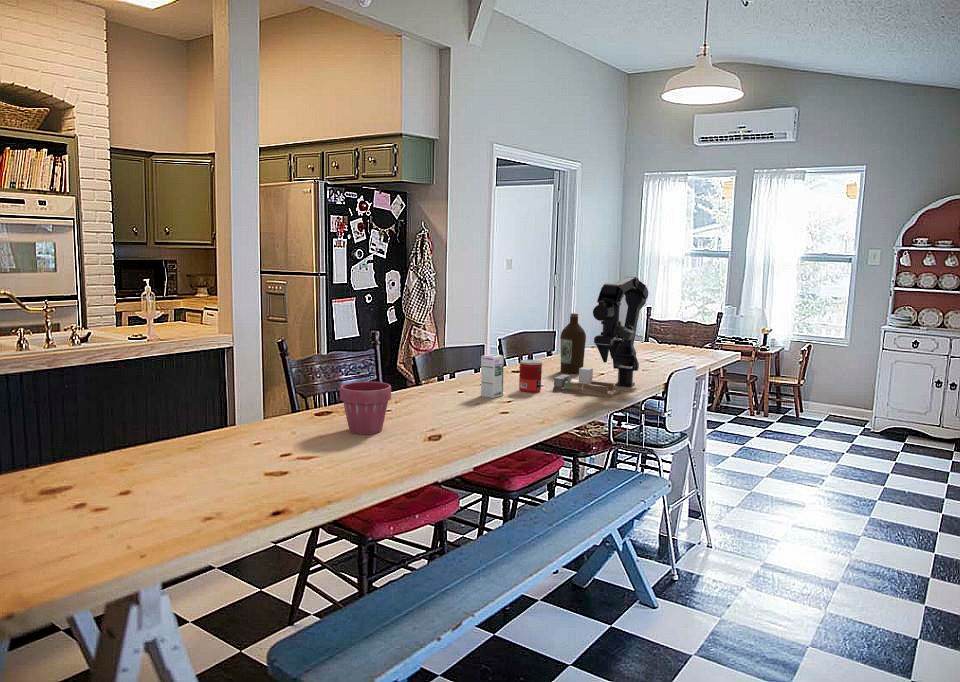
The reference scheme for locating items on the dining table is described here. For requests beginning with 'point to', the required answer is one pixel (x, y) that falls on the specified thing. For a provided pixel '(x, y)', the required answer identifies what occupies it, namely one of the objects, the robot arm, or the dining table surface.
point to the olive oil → (572, 346)
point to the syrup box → (492, 375)
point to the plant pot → (365, 405)
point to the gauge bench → (584, 387)
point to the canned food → (530, 376)
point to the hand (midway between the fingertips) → (609, 360)
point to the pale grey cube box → (583, 376)
